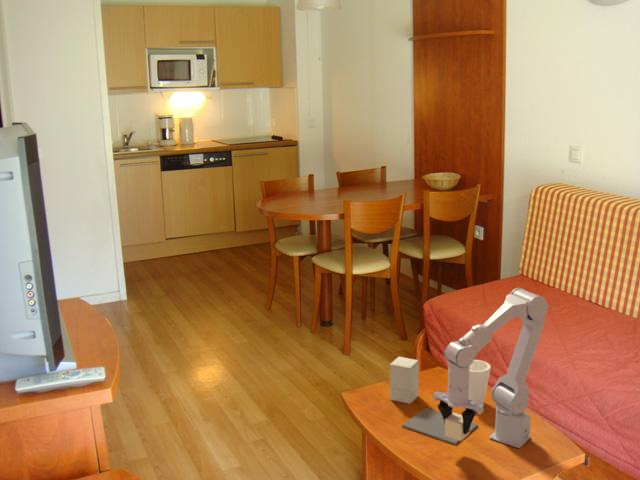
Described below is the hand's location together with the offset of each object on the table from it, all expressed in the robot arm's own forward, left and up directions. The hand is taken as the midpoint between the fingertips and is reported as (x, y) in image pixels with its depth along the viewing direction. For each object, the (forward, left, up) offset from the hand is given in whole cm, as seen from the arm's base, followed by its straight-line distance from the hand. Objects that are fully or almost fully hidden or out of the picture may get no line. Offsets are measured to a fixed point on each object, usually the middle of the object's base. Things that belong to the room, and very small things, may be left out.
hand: (457, 429), depth 205 cm
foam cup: (+10, -30, -7) cm, 32 cm away
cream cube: (0, 0, -2) cm, 2 cm away
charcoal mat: (+11, -10, -7) cm, 16 cm away
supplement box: (+30, -20, -7) cm, 37 cm away
